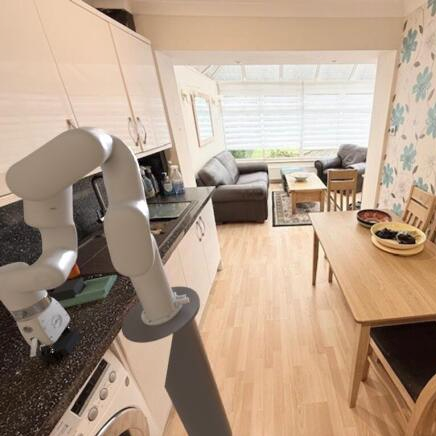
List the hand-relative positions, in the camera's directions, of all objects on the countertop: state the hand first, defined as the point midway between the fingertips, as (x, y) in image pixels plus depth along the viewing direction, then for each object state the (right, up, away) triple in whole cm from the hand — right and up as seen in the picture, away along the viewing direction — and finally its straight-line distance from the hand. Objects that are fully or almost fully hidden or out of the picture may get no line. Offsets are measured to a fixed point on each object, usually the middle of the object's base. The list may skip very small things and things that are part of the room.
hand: (63, 349), depth 72 cm
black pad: (0, -1, 0) cm, 1 cm away
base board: (-14, +10, +24) cm, 30 cm away
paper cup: (-30, +14, +35) cm, 48 cm away
